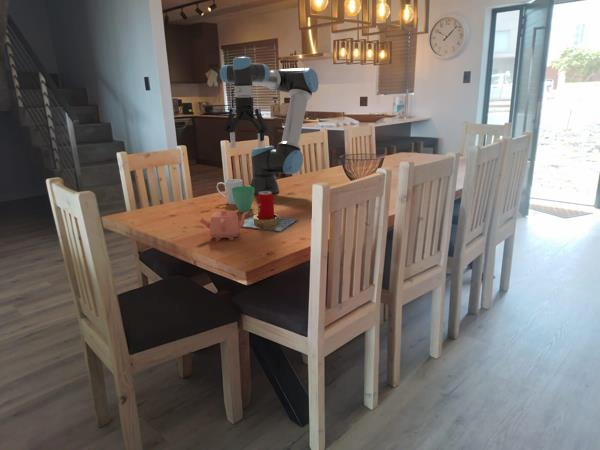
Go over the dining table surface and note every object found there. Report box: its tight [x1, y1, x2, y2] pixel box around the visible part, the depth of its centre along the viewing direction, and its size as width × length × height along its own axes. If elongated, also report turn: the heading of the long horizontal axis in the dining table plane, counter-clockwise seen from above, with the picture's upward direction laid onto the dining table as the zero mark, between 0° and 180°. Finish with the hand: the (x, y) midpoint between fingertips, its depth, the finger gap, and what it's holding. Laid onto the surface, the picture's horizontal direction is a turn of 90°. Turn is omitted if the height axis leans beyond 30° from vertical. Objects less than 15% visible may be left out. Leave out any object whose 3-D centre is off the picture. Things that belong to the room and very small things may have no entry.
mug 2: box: [232, 185, 255, 213], centre depth 193 cm, size 15×10×10 cm
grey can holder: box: [241, 212, 299, 233], centre depth 173 cm, size 16×20×3 cm
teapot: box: [199, 209, 251, 242], centre depth 157 cm, size 14×12×10 cm
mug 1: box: [216, 178, 244, 206], centre depth 205 cm, size 12×8×10 cm, turn 91°
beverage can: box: [256, 191, 275, 219], centre depth 172 cm, size 6×6×12 cm
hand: (246, 148), depth 188 cm, fingers open, 13 cm apart
